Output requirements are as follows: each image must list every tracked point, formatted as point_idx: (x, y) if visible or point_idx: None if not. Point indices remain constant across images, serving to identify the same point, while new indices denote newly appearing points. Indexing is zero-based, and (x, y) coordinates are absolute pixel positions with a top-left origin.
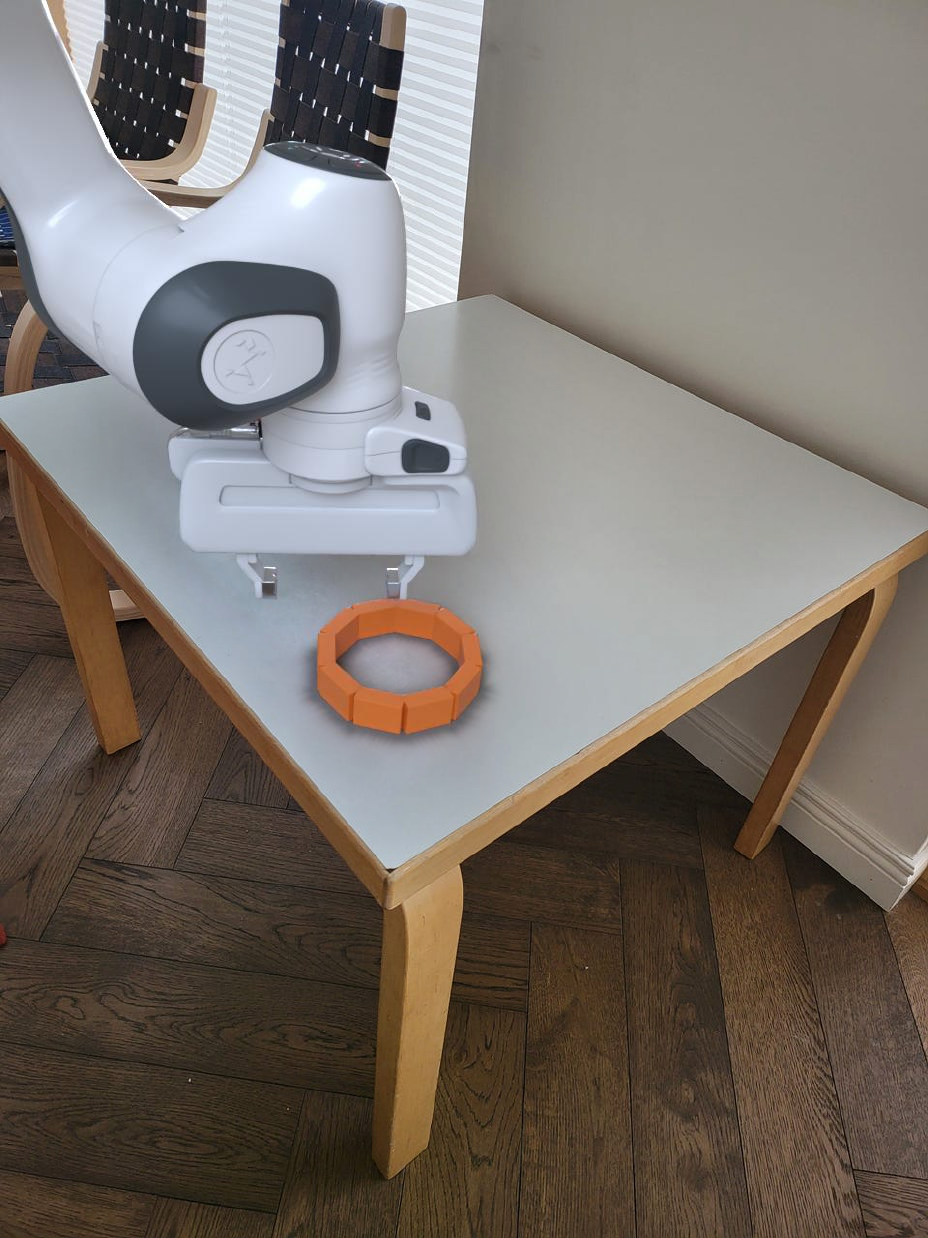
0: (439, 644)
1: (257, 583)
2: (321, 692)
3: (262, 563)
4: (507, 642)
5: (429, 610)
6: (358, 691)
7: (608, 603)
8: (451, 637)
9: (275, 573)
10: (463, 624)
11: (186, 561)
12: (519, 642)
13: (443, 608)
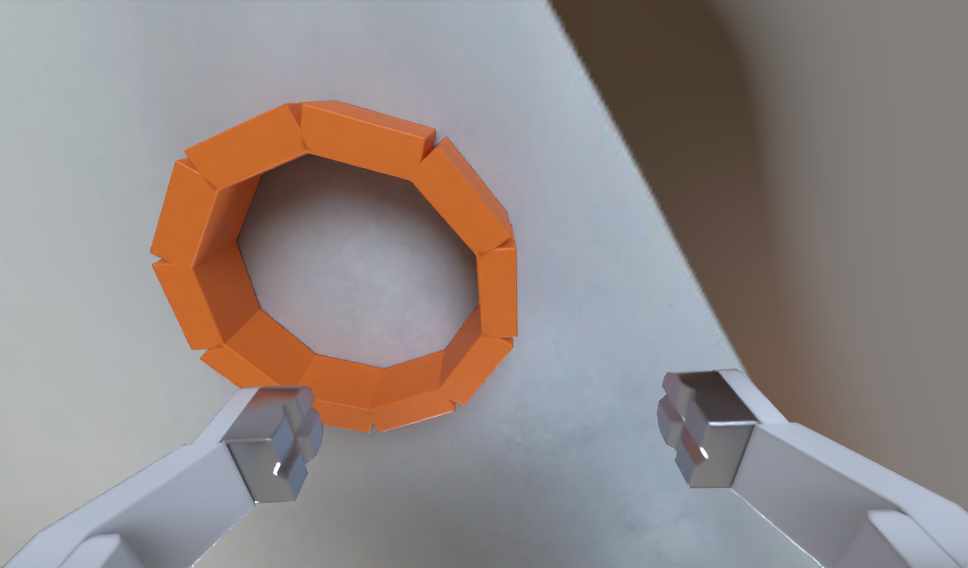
0: (299, 343)
1: (772, 416)
2: (503, 210)
3: (749, 503)
4: (184, 354)
5: None
6: (416, 162)
7: (42, 442)
8: (258, 347)
9: (698, 463)
10: (226, 372)
11: (717, 489)
12: (163, 355)
13: None
